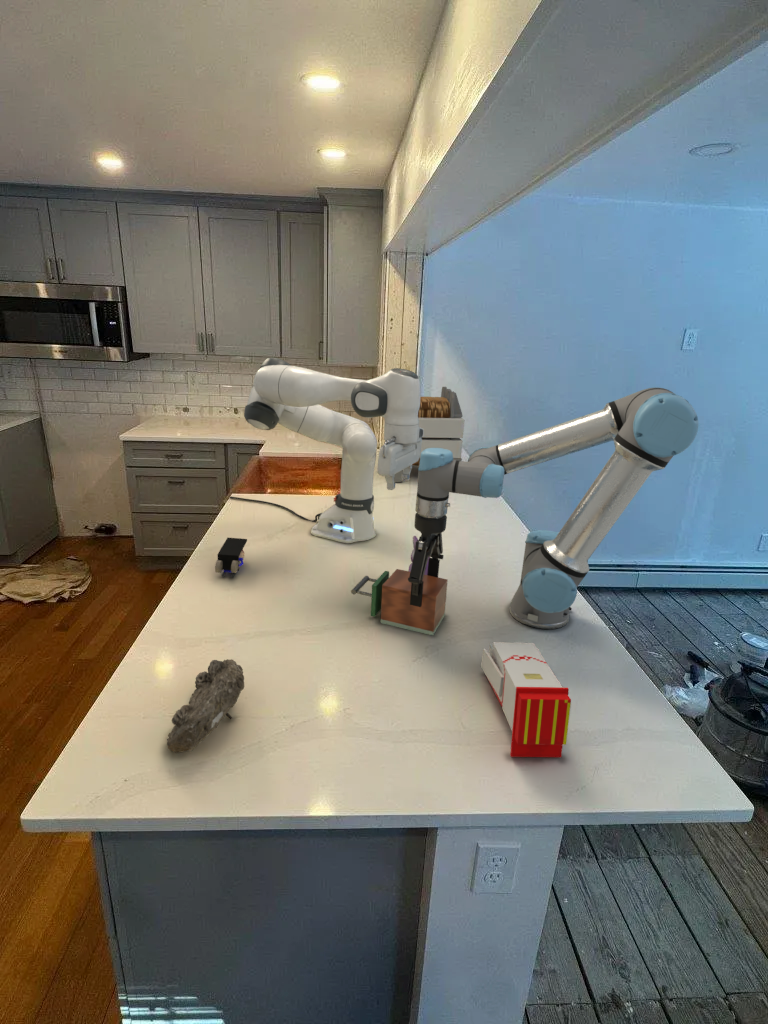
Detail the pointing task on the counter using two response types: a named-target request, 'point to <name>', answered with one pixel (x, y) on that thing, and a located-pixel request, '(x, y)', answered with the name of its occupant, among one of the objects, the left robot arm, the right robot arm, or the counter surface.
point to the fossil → (206, 705)
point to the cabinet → (409, 616)
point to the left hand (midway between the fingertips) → (398, 484)
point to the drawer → (373, 591)
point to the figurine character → (230, 556)
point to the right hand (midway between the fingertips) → (424, 593)
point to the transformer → (440, 425)
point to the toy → (528, 698)
